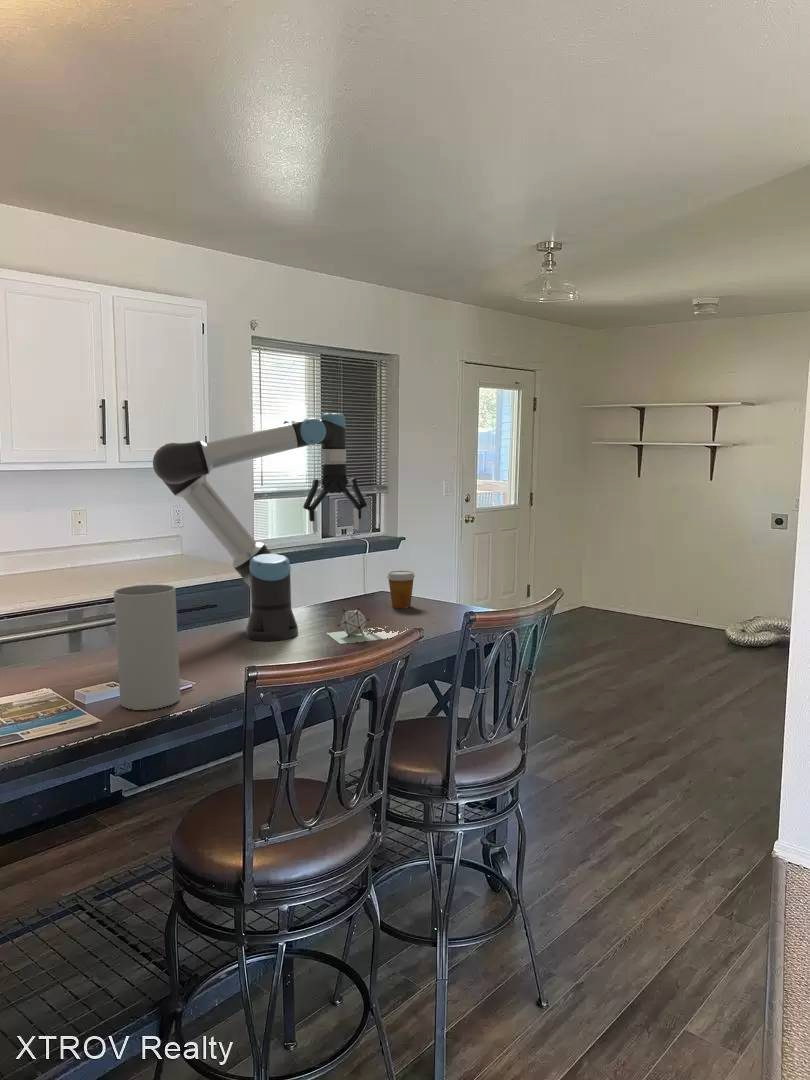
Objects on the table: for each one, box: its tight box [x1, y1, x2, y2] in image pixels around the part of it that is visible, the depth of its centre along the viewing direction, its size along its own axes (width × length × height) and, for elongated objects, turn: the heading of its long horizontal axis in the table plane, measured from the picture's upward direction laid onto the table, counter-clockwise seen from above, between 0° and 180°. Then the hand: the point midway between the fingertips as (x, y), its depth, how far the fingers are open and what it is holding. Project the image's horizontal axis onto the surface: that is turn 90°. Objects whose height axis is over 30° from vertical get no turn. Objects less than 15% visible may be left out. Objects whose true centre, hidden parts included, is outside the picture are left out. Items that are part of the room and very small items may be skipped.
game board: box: [325, 626, 408, 645], centre depth 230 cm, size 24×14×1 cm, turn 112°
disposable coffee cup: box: [386, 570, 416, 609], centre depth 269 cm, size 10×10×12 cm
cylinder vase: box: [113, 584, 181, 711], centre depth 169 cm, size 12×12×25 cm
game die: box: [336, 607, 371, 637], centre depth 227 cm, size 9×8×10 cm
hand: (335, 530), depth 247 cm, fingers open, 13 cm apart
